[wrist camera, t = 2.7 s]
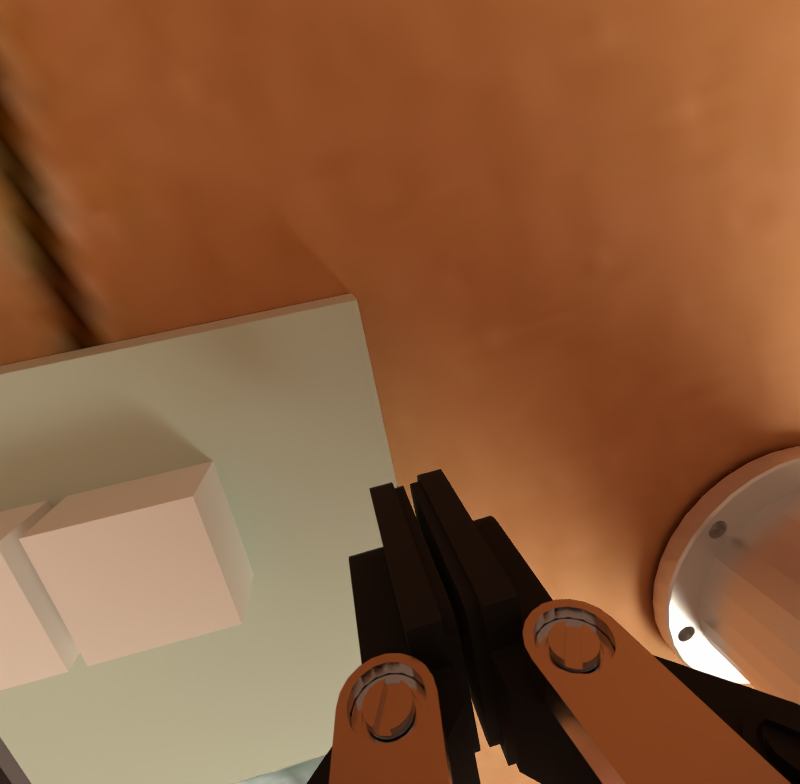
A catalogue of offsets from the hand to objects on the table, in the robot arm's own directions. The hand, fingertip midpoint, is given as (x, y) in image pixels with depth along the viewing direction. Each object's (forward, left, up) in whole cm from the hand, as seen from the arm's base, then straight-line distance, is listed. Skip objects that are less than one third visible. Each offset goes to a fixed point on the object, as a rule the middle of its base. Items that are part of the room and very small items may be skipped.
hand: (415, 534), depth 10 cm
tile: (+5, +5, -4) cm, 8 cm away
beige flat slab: (+3, +7, -7) cm, 10 cm away
